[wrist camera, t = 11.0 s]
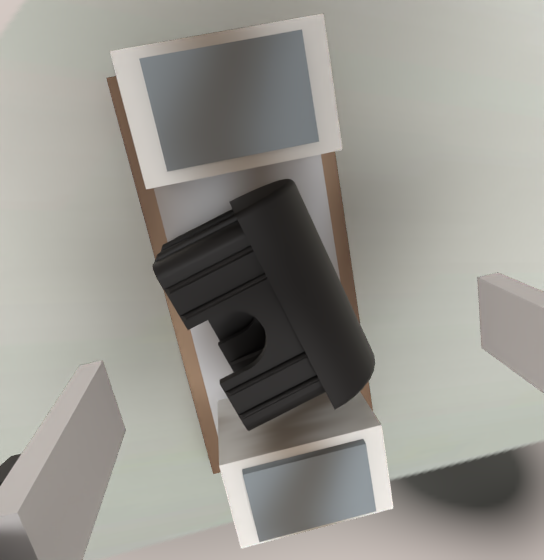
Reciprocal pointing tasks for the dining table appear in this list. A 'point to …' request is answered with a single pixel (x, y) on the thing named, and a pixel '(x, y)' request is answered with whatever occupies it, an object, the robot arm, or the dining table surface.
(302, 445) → the rail board
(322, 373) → the end cap
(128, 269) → the dining table surface
